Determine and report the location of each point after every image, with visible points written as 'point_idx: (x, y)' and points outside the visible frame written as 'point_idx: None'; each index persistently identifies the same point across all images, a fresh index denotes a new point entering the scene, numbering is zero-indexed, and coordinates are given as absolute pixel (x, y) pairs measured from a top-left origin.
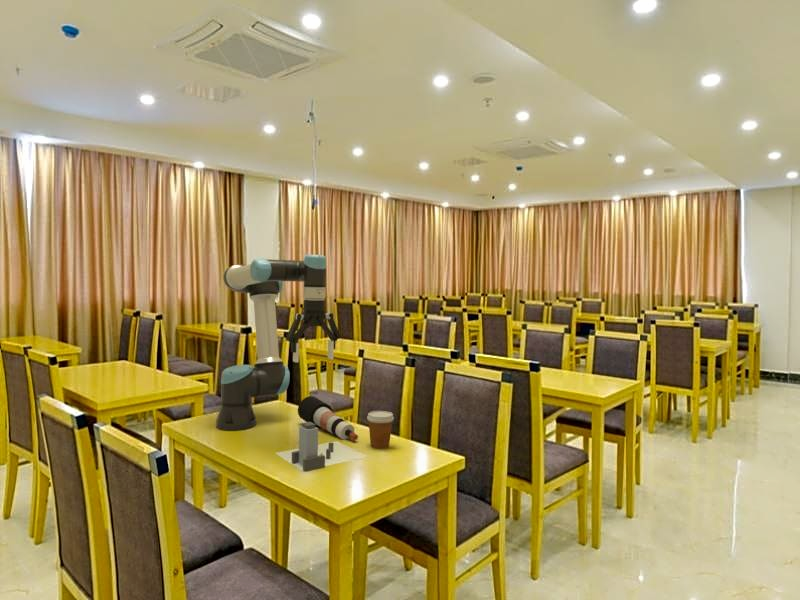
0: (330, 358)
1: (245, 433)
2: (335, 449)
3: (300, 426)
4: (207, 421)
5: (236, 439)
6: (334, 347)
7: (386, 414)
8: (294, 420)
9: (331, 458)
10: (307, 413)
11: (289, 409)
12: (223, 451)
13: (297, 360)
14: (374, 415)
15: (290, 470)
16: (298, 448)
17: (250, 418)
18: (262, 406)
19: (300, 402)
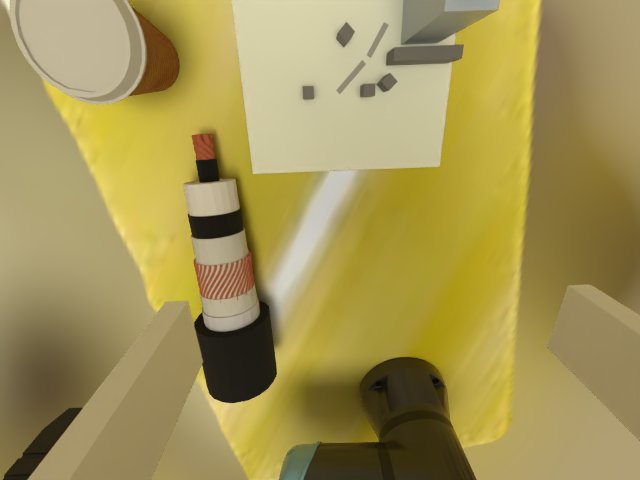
0: (189, 322)
1: (411, 336)
2: (288, 105)
3: (494, 7)
4: None
5: (448, 308)
6: (53, 436)
7: (44, 26)
8: None
9: (335, 31)
10: (268, 334)
11: (251, 437)
12: (515, 247)
13: (596, 296)
14: (106, 43)
15: None
16: (371, 168)
17: (389, 381)
18: None
19: (267, 388)
